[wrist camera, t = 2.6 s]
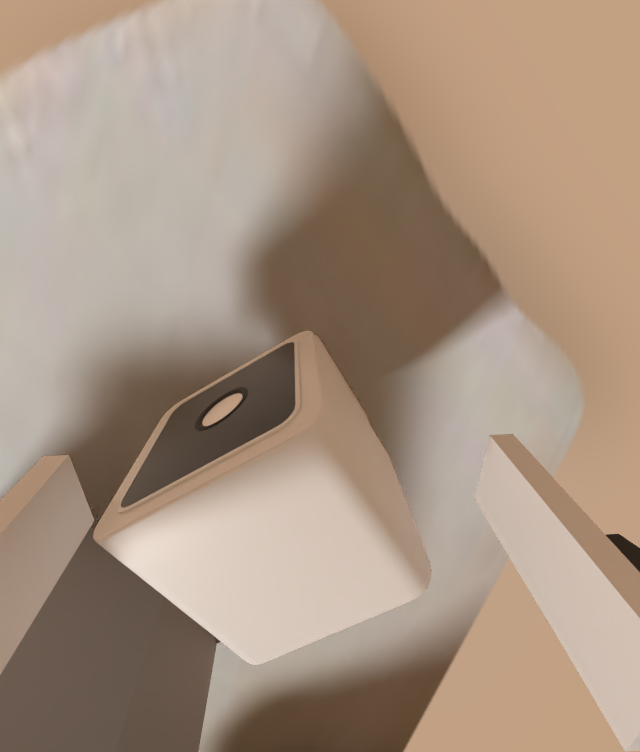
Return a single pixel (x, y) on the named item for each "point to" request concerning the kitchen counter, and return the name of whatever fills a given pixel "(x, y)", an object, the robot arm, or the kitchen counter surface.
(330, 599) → the security camera
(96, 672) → the grey flat-topped box
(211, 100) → the kitchen counter surface
